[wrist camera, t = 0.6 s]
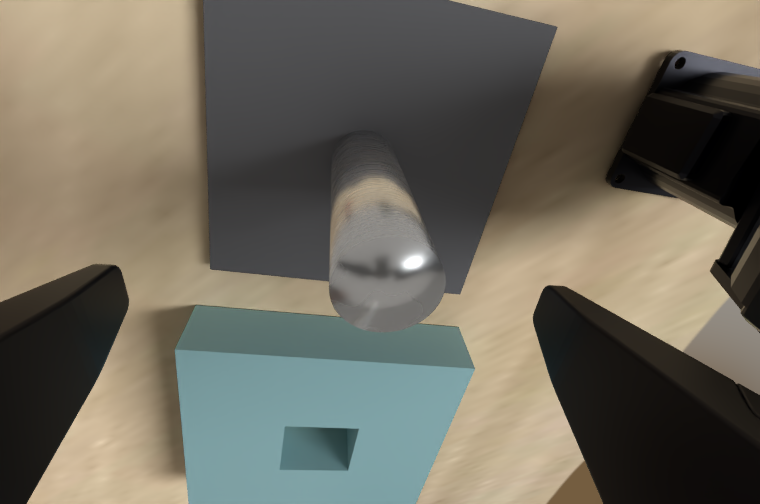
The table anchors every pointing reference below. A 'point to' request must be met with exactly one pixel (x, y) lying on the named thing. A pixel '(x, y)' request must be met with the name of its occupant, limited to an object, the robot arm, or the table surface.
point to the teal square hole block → (313, 407)
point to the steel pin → (378, 240)
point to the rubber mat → (358, 119)
